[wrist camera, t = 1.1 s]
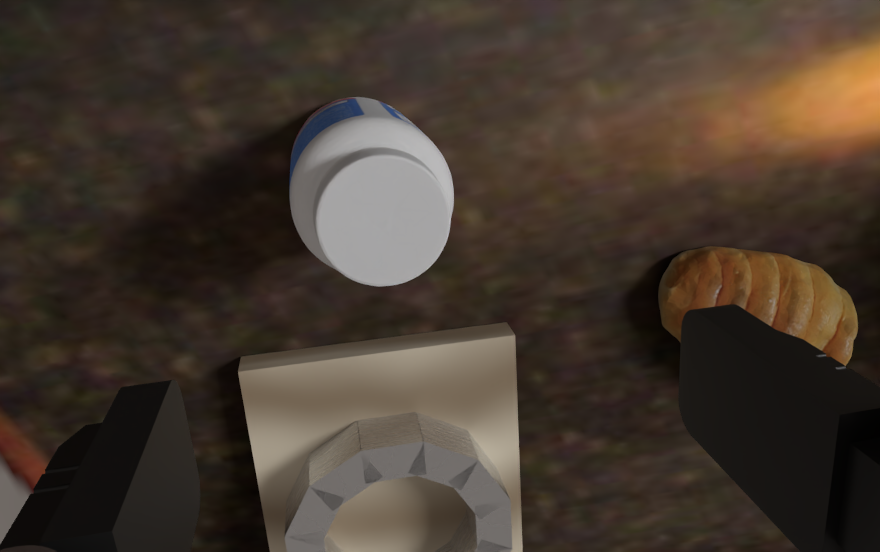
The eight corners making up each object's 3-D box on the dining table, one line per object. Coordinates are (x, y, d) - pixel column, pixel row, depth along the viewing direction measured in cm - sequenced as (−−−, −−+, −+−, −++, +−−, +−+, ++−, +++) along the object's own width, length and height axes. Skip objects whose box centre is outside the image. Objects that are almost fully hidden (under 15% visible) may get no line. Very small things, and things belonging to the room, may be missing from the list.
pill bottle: (288, 221, 30) (279, 305, 21) (293, 90, 29) (286, 120, 20) (417, 229, 32) (461, 312, 22) (430, 102, 30) (482, 136, 21)
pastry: (620, 334, 35) (656, 368, 32) (688, 207, 34) (733, 228, 30) (771, 391, 38) (819, 429, 34) (839, 276, 36) (897, 302, 33)
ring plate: (240, 356, 32) (237, 371, 31) (506, 322, 34) (515, 335, 32) (290, 637, 37) (289, 661, 36) (516, 596, 39) (524, 617, 38)
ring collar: (274, 432, 32) (272, 464, 30) (493, 400, 33) (507, 428, 31) (303, 608, 35) (303, 650, 33) (501, 573, 36) (514, 610, 34)
